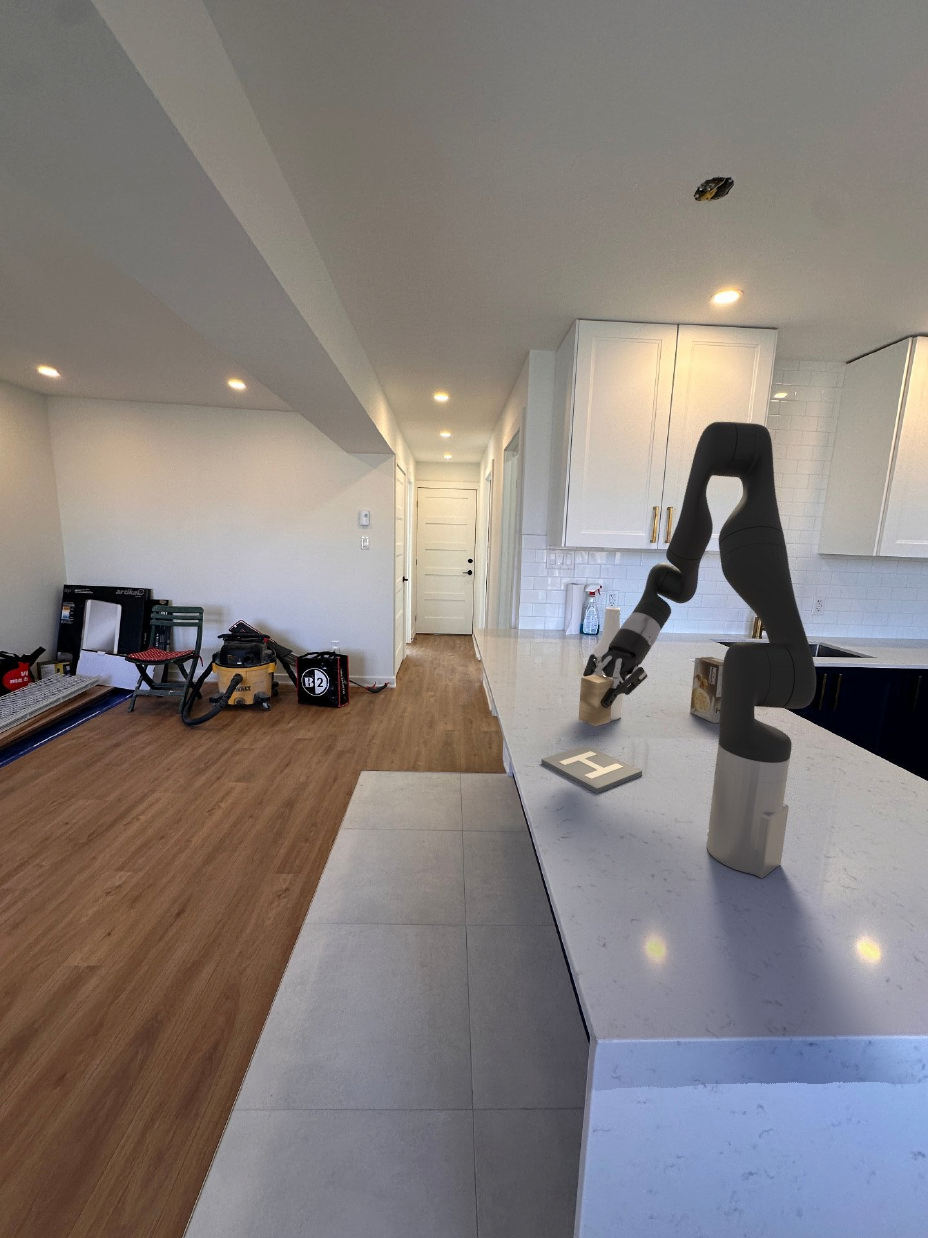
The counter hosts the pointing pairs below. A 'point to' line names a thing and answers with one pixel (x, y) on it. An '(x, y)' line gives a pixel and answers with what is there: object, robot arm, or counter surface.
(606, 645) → the alcohol
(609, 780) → the letter board
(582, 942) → the counter surface
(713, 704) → the coffee box
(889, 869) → the counter surface
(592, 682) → the oak block
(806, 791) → the counter surface
